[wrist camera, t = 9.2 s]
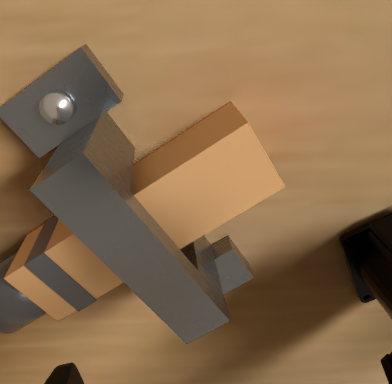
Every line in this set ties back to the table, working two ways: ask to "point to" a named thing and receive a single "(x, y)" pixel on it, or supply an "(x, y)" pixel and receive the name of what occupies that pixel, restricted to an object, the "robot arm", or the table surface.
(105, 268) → the tan bar
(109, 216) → the mounting bracket
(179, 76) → the table surface
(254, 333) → the table surface
